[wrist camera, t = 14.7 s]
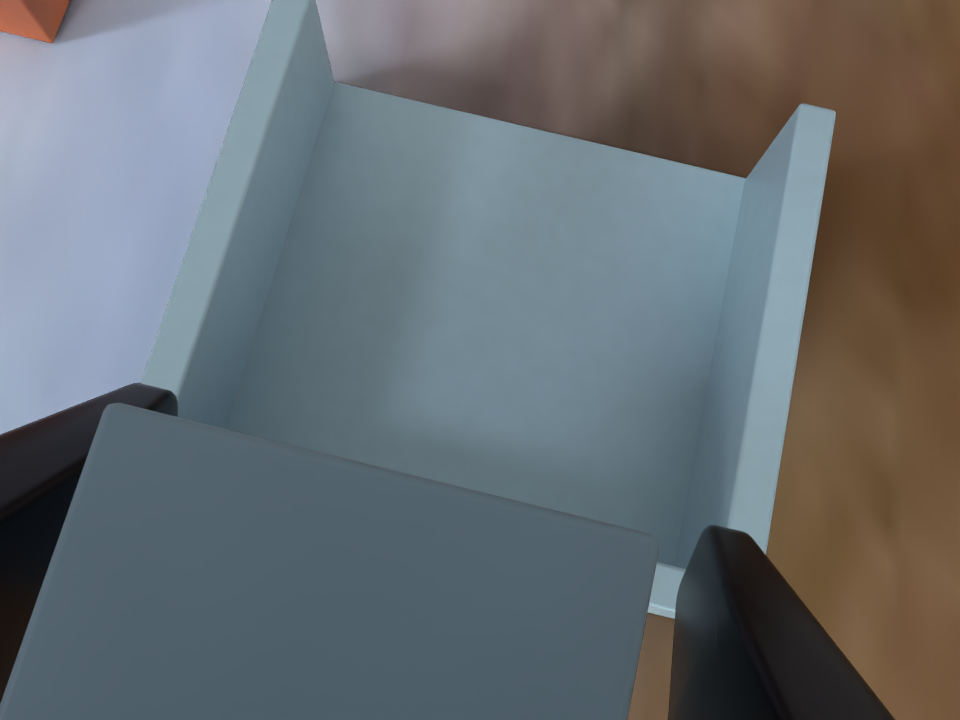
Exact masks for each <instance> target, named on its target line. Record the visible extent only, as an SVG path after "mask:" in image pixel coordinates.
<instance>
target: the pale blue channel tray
mask: <svg viewBox="0 0 960 720" xmlns="http://www.w3.org/2000/svg"><path fill="white" fill-rule="evenodd" d="M835 117H836V113H835V111H833V110H830V109H826V108H822V107H817V106H813V105H809V104H800V105H799V106H798V108H797V109H796V110H795V112H794V113H793V115H792V116H791V117H790V119H789V120H788V122H787V123H786V124H785V126H784V127H783V128H782V130H781V131H780V133H779V134H778V135H777V137H776V138H775V139H774V141H773V142H772V144H771V145H770V146H769V148H768V149H767V151H766V152H765V153H764V155H763V156H762V157H761V159H760V160H759V162H758V163H757V164H756V166H755V167H754V169H753V170H752V171H751V173H750V174H749V175H748V177H747V178H743V177H739V176H734V175H730V174H726V173H722V172H717V171H713V170H709V169H705V168H700V167H696V166H692V165H688V164H683V163H679V162H675V161H671V160H666V159H662V158H658V157H654V156H649V155H645V154H641V153H637V152H632V151H628V150H624V149H620V148H615V147H611V146H607V145H603V144H598V143H594V142H590V141H586V140H581V139H577V138H573V137H569V136H564V135H560V134H556V133H552V132H547V131H543V130H539V129H535V128H531V127H526V126H522V125H518V124H514V123H509V122H505V121H501V120H497V119H492V118H488V117H484V116H480V115H475V114H471V113H467V112H463V111H458V110H454V109H450V108H446V107H441V106H437V105H433V104H429V103H424V102H420V101H416V100H412V99H407V98H403V97H399V96H395V95H390V94H386V93H382V92H378V91H373V90H369V89H365V88H361V87H356V86H352V85H348V84H344V83H339V82H335V81H334V80H333V75H332V71H331V66H330V62H329V58H328V53H327V49H326V44H325V40H324V36H323V31H322V27H321V22H320V18H319V13H318V9H317V5H316V0H272V2H271V5H270V8H269V11H268V14H267V17H266V20H265V22H264V25H263V28H262V31H261V34H260V37H259V40H258V43H257V46H256V49H255V52H254V54H253V57H252V60H251V63H250V66H249V69H248V72H247V75H246V78H245V81H244V84H243V86H242V89H241V92H240V95H239V98H238V101H237V104H236V107H235V110H234V113H233V115H232V118H231V121H230V124H229V127H228V130H227V133H226V136H225V139H224V142H223V145H222V147H221V150H220V153H219V156H218V159H217V162H216V165H215V168H214V171H213V174H212V177H211V179H210V182H209V185H208V188H207V191H206V194H205V197H204V200H203V203H202V206H201V208H200V211H199V214H198V217H197V220H196V223H195V226H194V229H193V232H192V235H191V238H190V240H189V243H188V246H187V249H186V252H185V255H184V258H183V261H182V264H181V267H180V270H179V272H178V275H177V278H176V281H175V284H174V287H173V290H172V293H171V296H170V299H169V301H168V304H167V307H166V310H165V313H164V316H163V319H162V322H161V325H160V328H159V331H158V333H157V336H156V339H155V342H154V345H153V348H152V351H151V354H150V357H149V360H148V363H147V365H146V368H145V371H144V374H143V377H142V380H141V383H142V384H146V385H150V386H154V387H159V388H163V389H167V390H170V391H172V392H173V393H174V394H175V395H176V398H177V402H178V417H176V416H171V415H167V414H163V413H159V412H155V411H151V410H147V409H143V408H139V407H135V406H131V405H127V404H123V403H114V404H108V405H107V407H106V408H105V409H104V411H103V413H102V416H101V419H100V422H99V425H98V428H97V430H96V433H95V436H94V439H93V442H92V445H91V448H90V450H89V453H88V456H87V459H86V462H85V465H84V467H83V470H82V473H81V476H80V479H79V482H78V484H77V487H76V490H75V493H74V496H73V499H72V502H71V504H70V507H69V510H68V513H67V516H66V519H65V521H64V524H63V527H62V530H61V533H60V536H59V538H58V541H57V544H56V547H55V550H54V553H53V556H52V558H51V561H50V564H49V567H48V570H47V573H46V575H45V578H44V581H43V584H42V587H41V590H40V592H39V595H38V598H37V601H36V604H35V607H34V610H33V612H32V615H31V618H30V621H29V624H28V627H27V629H26V632H25V635H24V638H23V641H22V644H21V646H20V649H19V652H18V655H17V658H16V661H15V664H14V666H13V669H12V672H11V675H10V678H9V681H8V683H7V686H6V689H5V692H4V695H3V698H2V701H1V703H0V720H627V718H628V713H629V708H630V702H631V697H632V692H633V686H634V681H635V676H636V670H637V665H638V660H639V655H640V649H641V644H642V639H643V633H644V628H645V623H646V617H647V612H648V613H652V614H656V615H660V616H664V617H668V618H672V619H675V607H676V599H677V593H678V589H679V586H680V582H681V580H682V577H683V575H684V573H685V570H686V568H687V566H688V563H689V561H690V559H691V556H692V554H693V552H694V549H695V547H696V544H697V542H698V540H699V537H700V535H701V533H702V532H703V530H704V529H705V528H706V527H707V526H709V525H712V524H714V525H719V526H723V527H727V528H731V529H735V530H739V531H743V532H746V533H747V534H749V535H750V536H751V537H752V538H753V539H754V541H755V542H756V543H757V544H758V546H759V547H760V548H761V549H762V551H763V552H764V553H765V555H766V550H767V544H768V537H769V531H770V525H771V519H772V512H773V506H774V500H775V493H776V487H777V481H778V475H779V468H780V462H781V456H782V450H783V443H784V437H785V431H786V425H787V418H788V412H789V406H790V399H791V393H792V387H793V381H794V374H795V368H796V362H797V356H798V349H799V343H800V337H801V331H802V324H803V318H804V312H805V305H806V299H807V293H808V287H809V280H810V274H811V268H812V262H813V255H814V249H815V243H816V237H817V230H818V224H819V218H820V211H821V205H822V199H823V193H824V186H825V180H826V174H827V168H828V161H829V155H830V149H831V143H832V136H833V130H834V124H835Z"/></svg>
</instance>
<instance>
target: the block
mask: <svg viewBox="0 0 960 720" xmlns="http://www.w3.org/2000/svg"><path fill="white" fill-rule="evenodd" d="M69 2H70V0H0V31H2V32H6V33H10V34H15V35H19V36H23V37H27V38H32V39H36V40H40V41H45V42H49V43H53V42H54V39H55V37H56V34H57V32H58V29H59V27H60V24H61V22H62V20H63V17H64V15H65V12H66V10H67V7H68V5H69Z"/></svg>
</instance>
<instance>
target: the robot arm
mask: <svg viewBox="0 0 960 720" xmlns="http://www.w3.org/2000/svg"><path fill="white" fill-rule="evenodd" d="M114 403H123V404H127V405H131V406H135V407H139V408H143V409H147V410H151V411H155V412H159V413H163V414H167V415H171V416H176V417H178V402H177V398H176V395H175V394H174V393H173V392H172V391H170V390H167V389H163V388H159V387H154V386H150V385H146V384H142V383H134V384H130V385H127V386H125V387H122V388H119V389H117V390H114V391H112V392H109V393H107V394H104V395H101V396H99V397H96V398H94V399H91V400H89V401H86V402H83V403H81V404H78V405H76V406H73V407H70V408H68V409H65V410H63V411H60V412H58V413H55V414H52V415H50V416H47V417H45V418H42V419H39V420H37V421H34V422H32V423H29V424H27V425H24V426H21V427H19V428H16V429H14V430H11V431H9V432H6V433H3V434H1V435H0V703H1V701H2V698H3V695H4V692H5V689H6V686H7V683H8V681H9V678H10V675H11V672H12V669H13V666H14V664H15V661H16V658H17V655H18V652H19V649H20V646H21V644H22V641H23V638H24V635H25V632H26V629H27V627H28V624H29V621H30V618H31V615H32V612H33V610H34V607H35V604H36V601H37V598H38V595H39V592H40V590H41V587H42V584H43V581H44V578H45V575H46V573H47V570H48V567H49V564H50V561H51V558H52V556H53V553H54V550H55V547H56V544H57V541H58V538H59V536H60V533H61V530H62V527H63V524H64V521H65V519H66V516H67V513H68V510H69V507H70V504H71V502H72V499H73V496H74V493H75V490H76V487H77V484H78V482H79V479H80V476H81V473H82V470H83V467H84V465H85V462H86V459H87V456H88V453H89V450H90V448H91V445H92V442H93V439H94V436H95V433H96V430H97V428H98V425H99V422H100V419H101V416H102V413H103V411H104V409H105V408H106V407H107V405H108V404H114ZM668 720H895V719H894V717H893V716H892V715H891V714H890V712H889V711H888V710H887V709H886V707H885V706H884V705H883V703H882V702H881V701H880V700H879V698H878V697H877V696H876V695H875V693H874V692H873V691H872V689H871V688H870V687H869V686H868V684H867V683H866V682H865V681H864V679H863V678H862V677H861V675H860V674H859V673H858V672H857V670H856V669H855V668H854V667H853V665H852V664H851V663H850V661H849V660H848V659H847V658H846V656H845V655H844V654H843V653H842V651H841V650H840V649H839V647H838V646H837V645H836V644H835V642H834V641H833V640H832V639H831V637H830V636H829V635H828V633H827V632H826V631H825V630H824V628H823V627H822V626H821V625H820V623H819V622H818V621H817V619H816V618H815V617H814V616H813V614H812V613H811V612H810V611H809V609H808V608H807V607H806V605H805V604H804V603H803V602H802V600H801V599H800V598H799V597H798V595H797V594H796V593H795V591H794V590H793V589H792V588H791V586H790V585H789V584H788V583H787V581H786V580H785V579H784V577H783V576H782V575H781V574H780V572H779V571H778V570H777V569H776V567H775V566H774V565H773V563H772V562H771V561H770V560H769V558H768V557H767V556H766V555H765V553H764V552H763V551H762V549H761V548H760V547H759V546H758V544H757V543H756V542H755V541H754V539H753V538H752V537H751V536H750V535H749V534H747V533H746V532H743V531H739V530H735V529H731V528H727V527H723V526H719V525H714V524H712V525H709V526H707V527H706V528H705V529H704V530H703V532H702V533H701V535H700V537H699V540H698V542H697V544H696V547H695V549H694V552H693V554H692V556H691V559H690V561H689V563H688V566H687V568H686V570H685V573H684V575H683V577H682V580H681V582H680V586H679V589H678V593H677V599H676V607H675V622H674V637H673V652H672V667H671V682H670V697H669V712H668Z"/></svg>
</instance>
